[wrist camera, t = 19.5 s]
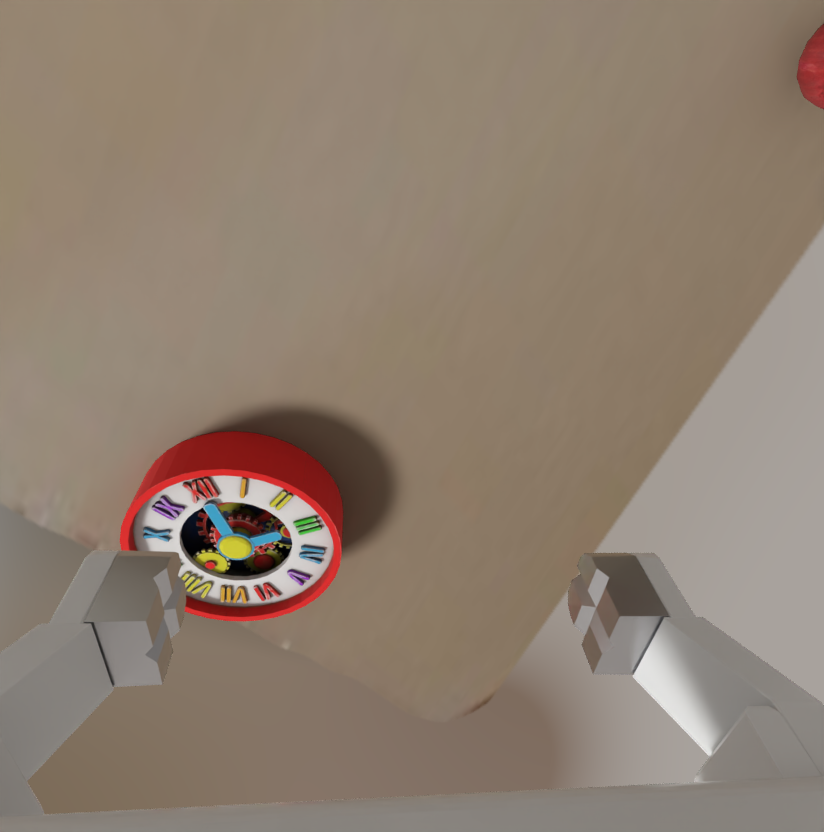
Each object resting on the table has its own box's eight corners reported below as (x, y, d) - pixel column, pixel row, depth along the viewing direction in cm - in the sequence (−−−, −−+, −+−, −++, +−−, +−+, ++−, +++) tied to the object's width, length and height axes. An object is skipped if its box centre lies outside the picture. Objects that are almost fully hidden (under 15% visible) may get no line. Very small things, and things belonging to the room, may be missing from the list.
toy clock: (187, 639, 57) (72, 504, 46) (200, 594, 62) (99, 462, 51) (369, 593, 56) (294, 442, 45) (368, 550, 61) (300, 405, 50)
